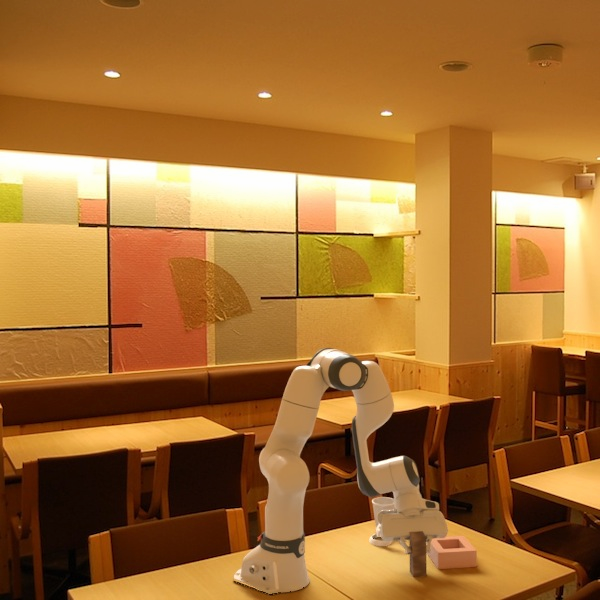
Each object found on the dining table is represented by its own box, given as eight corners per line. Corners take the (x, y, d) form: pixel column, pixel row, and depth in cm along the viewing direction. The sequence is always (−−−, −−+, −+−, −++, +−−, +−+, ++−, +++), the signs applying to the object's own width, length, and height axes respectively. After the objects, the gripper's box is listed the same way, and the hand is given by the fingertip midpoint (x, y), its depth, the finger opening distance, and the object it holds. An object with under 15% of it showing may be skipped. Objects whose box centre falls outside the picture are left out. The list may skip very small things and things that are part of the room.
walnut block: (413, 577, 206) (412, 537, 206) (409, 571, 210) (409, 531, 210) (426, 576, 207) (426, 536, 206) (422, 570, 211) (422, 531, 210)
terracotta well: (438, 569, 211) (437, 552, 211) (426, 553, 223) (426, 537, 223) (476, 566, 213) (476, 550, 212) (463, 550, 225) (463, 535, 224)
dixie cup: (372, 524, 249) (371, 496, 248) (395, 524, 248) (395, 497, 248) (372, 533, 241) (371, 504, 240) (396, 533, 240) (396, 505, 239)
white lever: (408, 530, 229) (391, 520, 227) (386, 558, 231) (369, 548, 229) (402, 517, 236) (386, 508, 234) (381, 544, 238) (365, 535, 236)
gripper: (378, 506, 213) (385, 550, 204) (443, 502, 215) (453, 546, 206) (375, 515, 218) (382, 559, 209) (439, 512, 220) (449, 555, 211)
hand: (418, 552), depth 208 cm, fingers open, 4 cm apart
